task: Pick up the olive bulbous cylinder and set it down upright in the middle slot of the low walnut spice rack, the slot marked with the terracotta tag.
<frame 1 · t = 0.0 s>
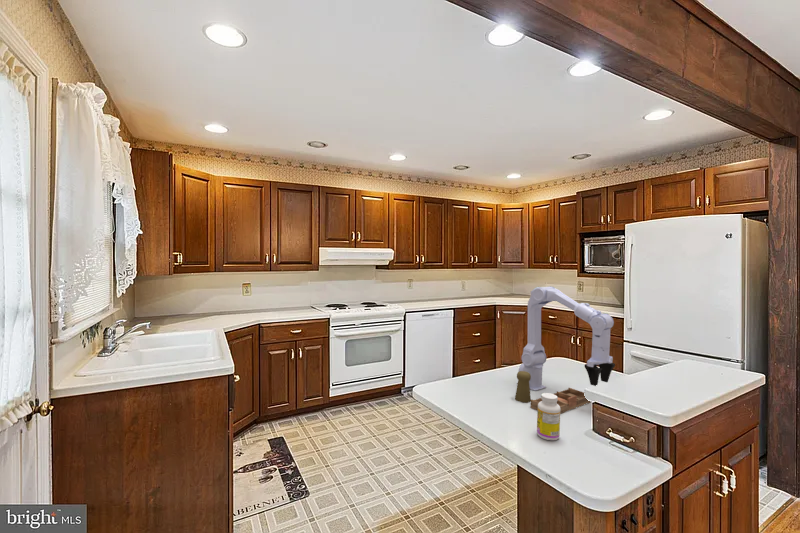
hand: (599, 383, 135), 10 cm above the worktop, tool pointing down, fingers open, 7 cm apart
supplement bottle: (547, 436, 115), on the worktop
olive bulbous cylinder: (522, 400, 144), on the worktop
spice rack: (561, 404, 140), on the worktop
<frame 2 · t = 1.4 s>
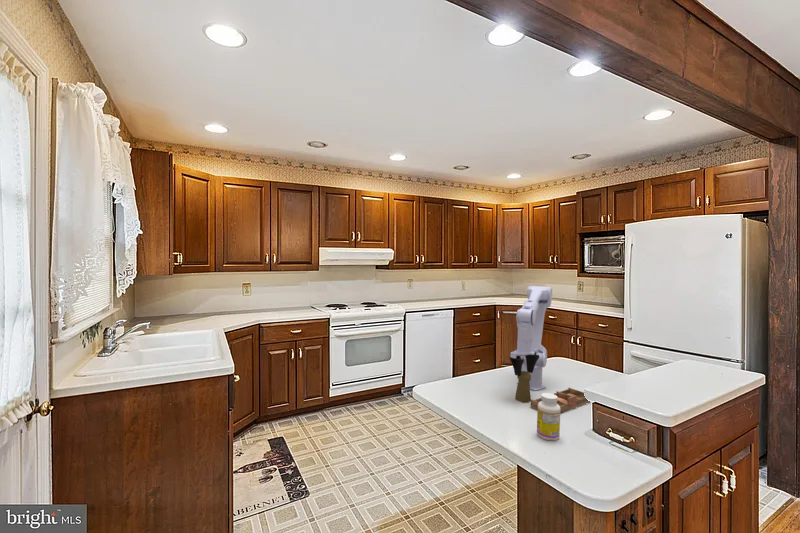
hand: (523, 373, 143), 10 cm above the worktop, tool pointing down, fingers open, 7 cm apart
nothing on the worktop moved.
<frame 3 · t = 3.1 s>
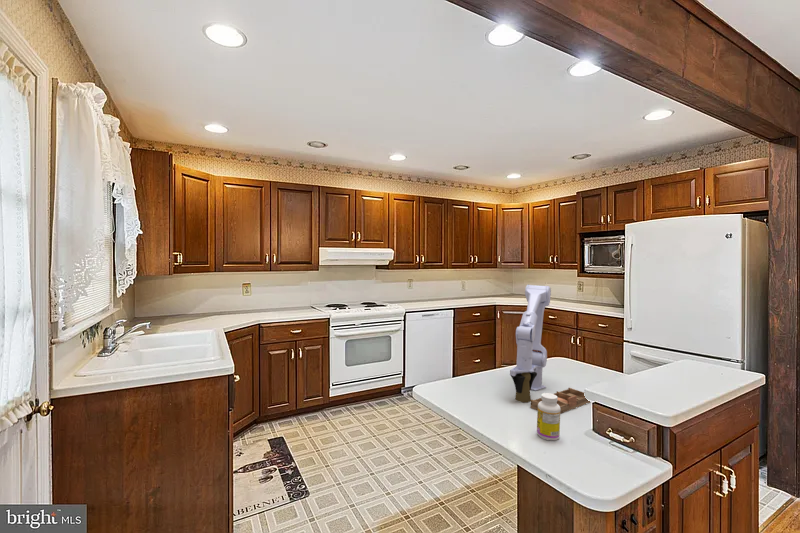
hand: (523, 391, 144), 3 cm above the worktop, tool pointing down, fingers closed on olive bulbous cylinder, 5 cm apart
olive bulbous cylinder: (522, 400, 144), on the worktop, touching gripper
everything else where it was.
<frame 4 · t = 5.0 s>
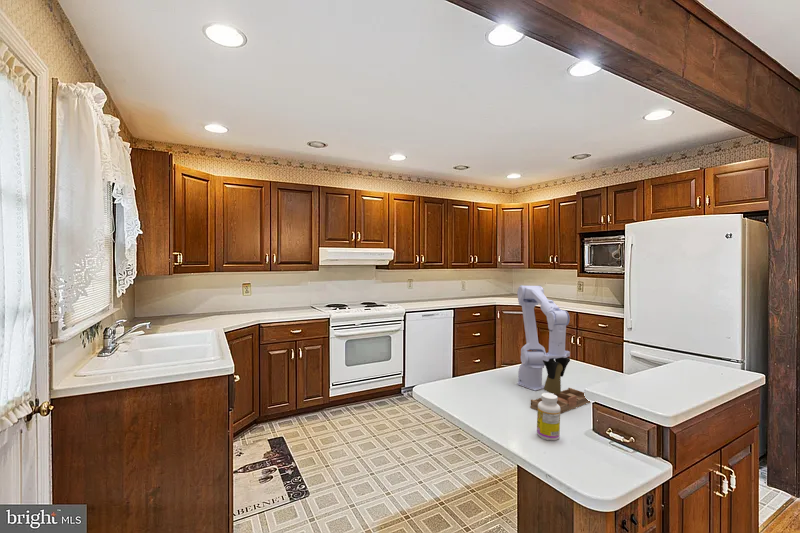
hand: (555, 377, 140), 10 cm above the worktop, tool pointing down, fingers closed on olive bulbous cylinder, 5 cm apart
olive bulbous cylinder: (552, 390, 141), point 5 cm above the worktop, touching gripper
everything else where it was.
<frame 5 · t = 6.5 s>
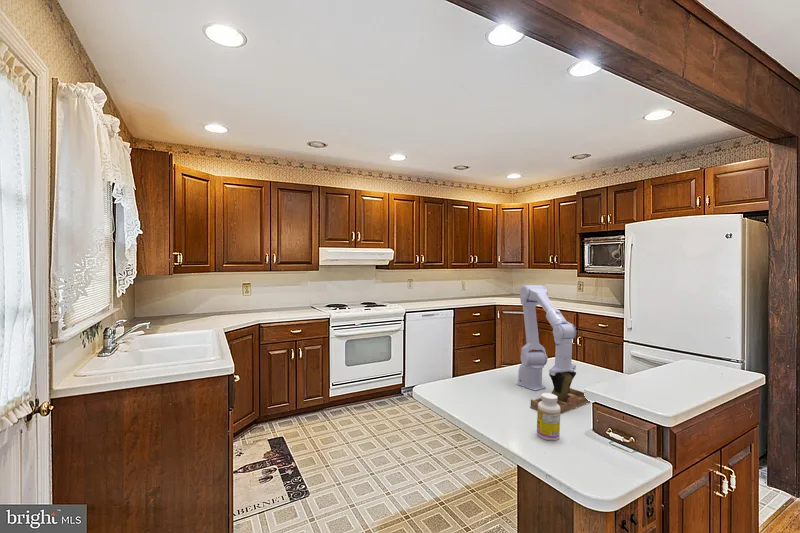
hand: (561, 390, 139), 5 cm above the worktop, tool pointing down, fingers closed on olive bulbous cylinder, 5 cm apart
olive bulbous cylinder: (558, 399, 140), point 2 cm above the worktop, touching gripper, spice rack
everything else where it was.
when the fingers open (5 cm above the worktop, at t = 7.3 s): olive bulbous cylinder stays where it is, resting on spice rack.
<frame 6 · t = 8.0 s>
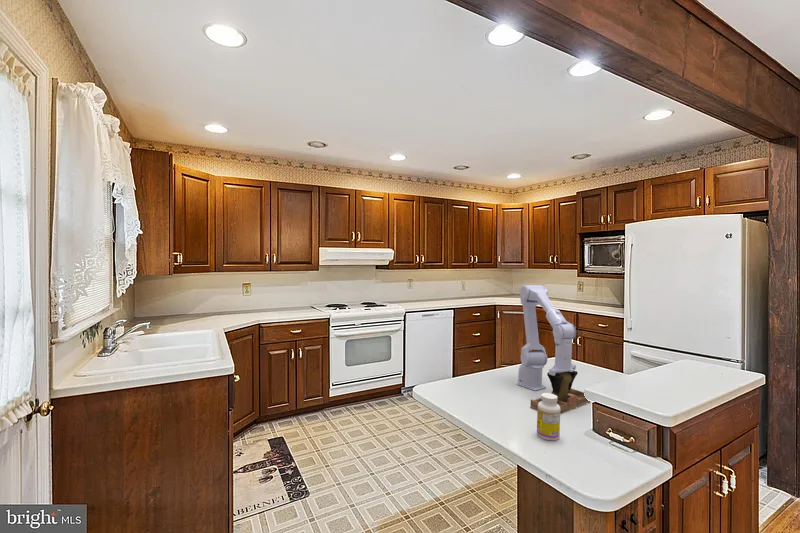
hand: (561, 390, 139), 5 cm above the worktop, tool pointing down, fingers open, 7 cm apart
olive bulbous cylinder: (558, 399, 140), point 2 cm above the worktop, touching spice rack
everything else where it was.
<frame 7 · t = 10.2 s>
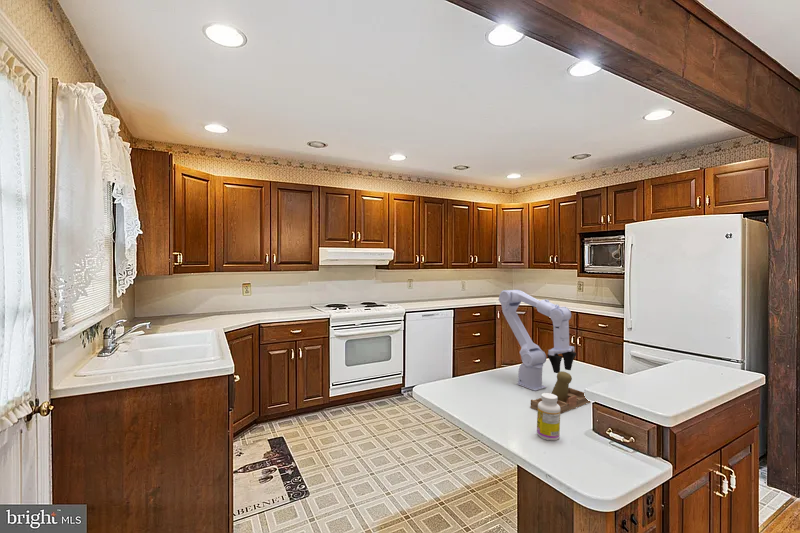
hand: (562, 371, 147), 10 cm above the worktop, tool pointing down, fingers open, 7 cm apart
nothing on the worktop moved.
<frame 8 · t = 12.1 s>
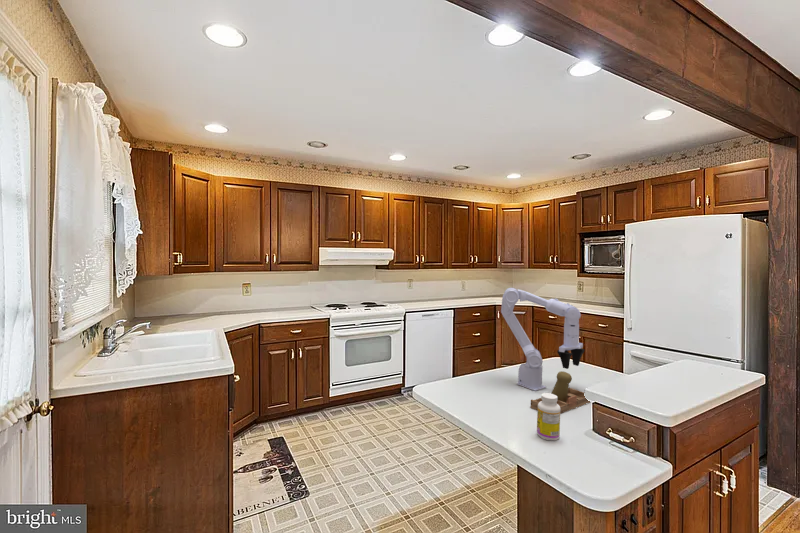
hand: (570, 366, 154), 10 cm above the worktop, tool pointing down, fingers open, 7 cm apart
nothing on the worktop moved.
at the end: olive bulbous cylinder 1.2 cm off-centre on the spice rack, point 1.7 cm above the spice rack's base; olive bulbous cylinder tilted 13°; the gripper is holding nothing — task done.
